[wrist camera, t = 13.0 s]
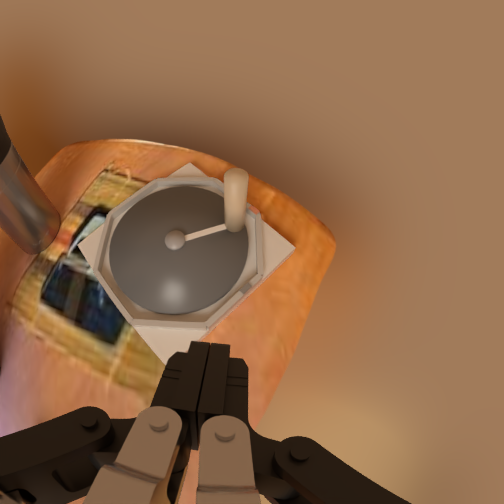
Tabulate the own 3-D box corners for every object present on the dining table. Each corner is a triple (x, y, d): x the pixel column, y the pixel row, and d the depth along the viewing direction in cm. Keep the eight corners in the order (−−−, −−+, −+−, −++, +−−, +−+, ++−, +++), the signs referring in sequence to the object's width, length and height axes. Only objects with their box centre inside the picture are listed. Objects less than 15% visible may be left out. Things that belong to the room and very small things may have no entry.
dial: (125, 333, 29) (87, 309, 20) (106, 212, 37) (81, 166, 28) (270, 286, 34) (285, 246, 25) (222, 177, 41) (221, 125, 32)
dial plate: (81, 249, 36) (73, 240, 33) (190, 168, 44) (188, 156, 41) (170, 368, 29) (164, 366, 27) (293, 252, 38) (297, 242, 35)
